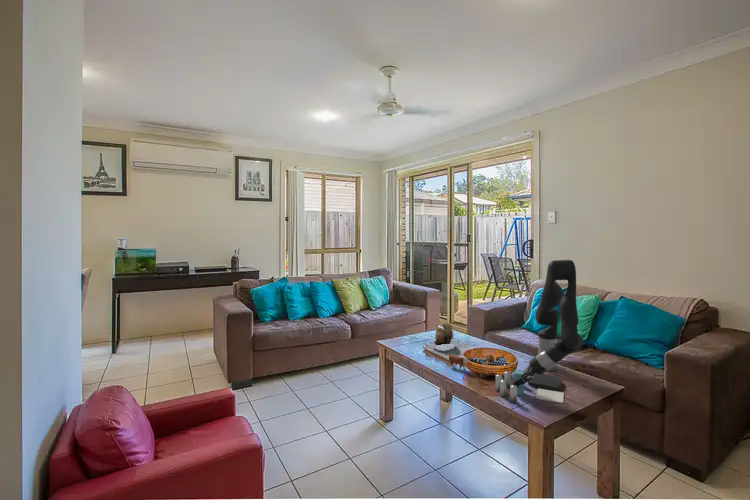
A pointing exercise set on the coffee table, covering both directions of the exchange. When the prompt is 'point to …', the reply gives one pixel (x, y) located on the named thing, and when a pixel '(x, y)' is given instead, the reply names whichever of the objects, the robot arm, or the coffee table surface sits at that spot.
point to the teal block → (521, 387)
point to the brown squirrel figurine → (444, 334)
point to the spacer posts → (503, 384)
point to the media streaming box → (546, 382)
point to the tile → (550, 395)
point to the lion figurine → (488, 361)
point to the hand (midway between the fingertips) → (514, 383)
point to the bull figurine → (458, 360)
